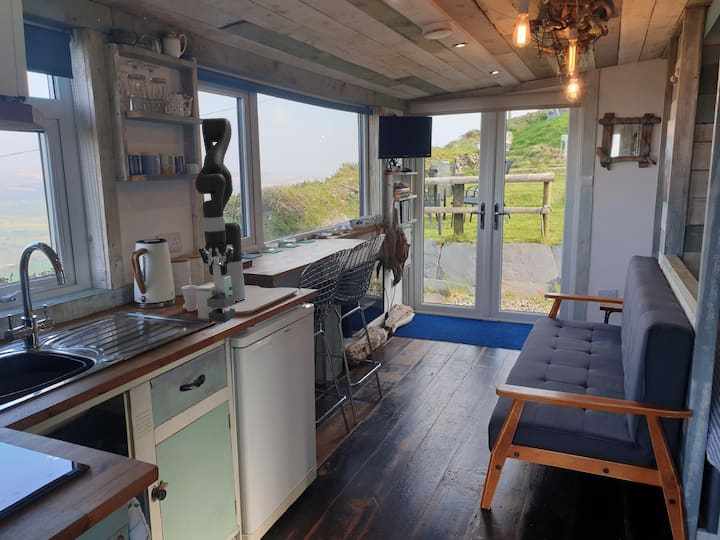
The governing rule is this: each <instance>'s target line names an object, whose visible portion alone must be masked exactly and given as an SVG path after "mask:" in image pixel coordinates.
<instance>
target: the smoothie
mask: <svg viewBox="0 0 720 540" xmlns="http://www.w3.org/2000/svg"><path fill="white" fill-rule="evenodd" d="M188 279H189V280H188V281H189V285H188V284H187V285H183V286H181V287H180V288H181V291H182V295H183V298H184V303H185V307H186V312H195V311H194V309H195V308H196V307H197V298H196V287H198V286H199V285H196V284H192V278H191V275H190V276H189V278H188Z"/></svg>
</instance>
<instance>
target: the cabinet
mask: <svg viewBox="0 0 720 540" xmlns="http://www.w3.org/2000/svg"><path fill="white" fill-rule="evenodd" d="M197 286H198V287H196V298H197V316H198V319H204V320H205V319H208V321H209V322H223V323H225V322H226V323H227V322H228V321H230V320H233V318H235V317H236V309H235V308H229V311H228V312H226V313H225V312H224V310H225V311H226V308H227V307H229V306H230V305H232V304H234V303H235V302H234V295H229V297H228V298H226V299H215V292H214V281H208V282H205V283H203V284H201V285H197Z"/></svg>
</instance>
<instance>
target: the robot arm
mask: <svg viewBox="0 0 720 540" xmlns="http://www.w3.org/2000/svg"><path fill="white" fill-rule="evenodd" d="M201 132H202V139H203V144H204V151H205V155H204V159H203V165H202V167H201V169H200V171H199V172H198V174H197V176H196V178H195V181H194V182H195V183H194V185H195V186H194V187H195V189H196V191H197V192H198V193H199V194H200V195H201V194H202V195H210V200H209V199H208V200H205V201H203V203H202V211H203V212H202V213H203V231H204V242H205V245H204V247H200V248H199V249H198V253H199V254H200V257H201V260H202V262H203V263H204V264H205V265H208V271H209V274H210V275H211V276H213V269H212V264H213V263H215V259H216V257H217V258H218V261H219V262H220V263H221V265H222V266H221V271H222V275H224V278H225V277H227V276H231V282H232V294H233V295H234V301H240V300H243V299H245V298H246V290H245V289H246V288H245V278H244V277H245V276H244V271H243V270H244V269H243V256H242V255H243V254H242V253H243V251H242V230H241V226H240V224H239V223H238V222H225V218H224V211H225V209H226V206H227V205H228V203H229V200H230V198H231V197H232V195H233V190H234V189H233V178H232V174H231V172H230V170H229V169H228V167H227V165H225V164H224V161H225V158H226V157H225V156H226V153H227V151H228V149H229V145H230V143H231V139H232V135H233V134H232V124H231V121H230V120H229V119H228V118H226V117H223V118H222V117H216V118H215V117H214V118H213V117H212V118H204V119H203V120H202V122H201ZM229 246H231V247H229ZM245 300H246V299H245ZM243 301H244V300H243ZM240 302H241V301H240Z"/></svg>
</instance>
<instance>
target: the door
mask: <svg viewBox="0 0 720 540" xmlns="http://www.w3.org/2000/svg"><path fill="white" fill-rule="evenodd" d="M221 266H222V265H221V263H220V261H219V262H214V263H213V264H212V269H213V275H212V277H213V278H212V280H213V282H214V292H215V299H226V298H228V297H229V295H233V294H232V282H231V276H227V277H225V278H224V275H222V271H221Z"/></svg>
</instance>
